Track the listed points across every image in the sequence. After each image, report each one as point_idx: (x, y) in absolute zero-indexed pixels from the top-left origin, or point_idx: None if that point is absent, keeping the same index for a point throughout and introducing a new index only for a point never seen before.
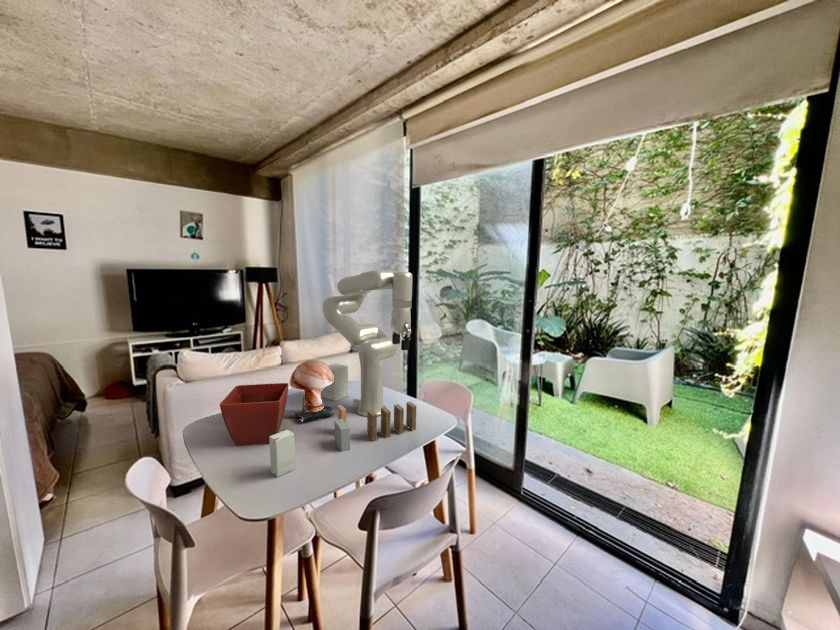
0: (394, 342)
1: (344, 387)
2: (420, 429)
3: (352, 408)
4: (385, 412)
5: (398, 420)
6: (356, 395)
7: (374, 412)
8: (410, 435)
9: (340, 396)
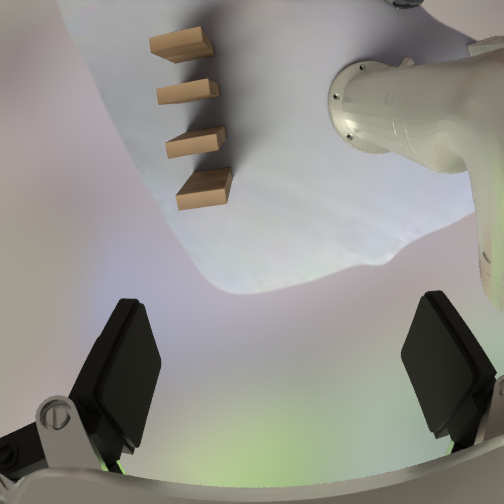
0: (424, 319)
1: None
2: None
3: None
4: (166, 87)
5: (185, 135)
6: None
7: (171, 47)
8: (171, 160)
9: None
